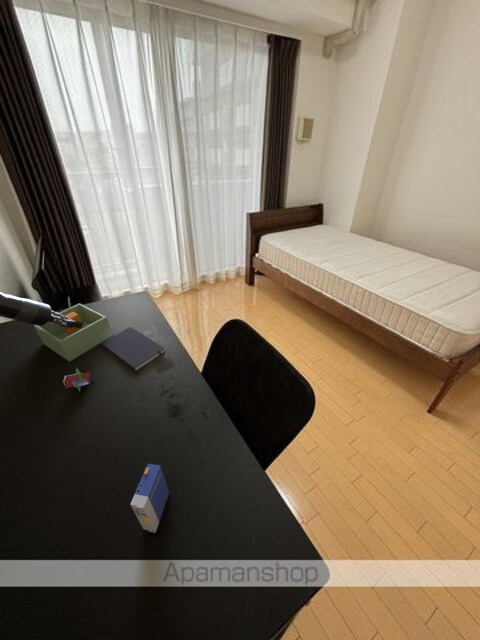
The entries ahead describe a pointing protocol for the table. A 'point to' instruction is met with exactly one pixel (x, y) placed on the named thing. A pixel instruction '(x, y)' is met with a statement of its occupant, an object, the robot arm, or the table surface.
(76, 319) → the block
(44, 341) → the bin
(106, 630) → the table surface
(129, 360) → the notebook
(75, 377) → the geometric puzzle
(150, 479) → the walkman
